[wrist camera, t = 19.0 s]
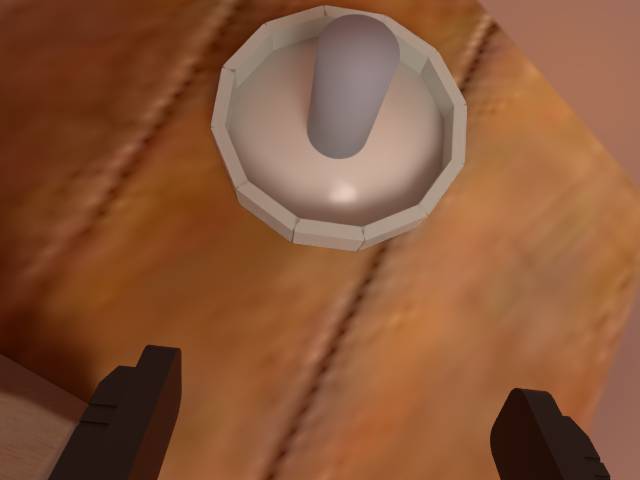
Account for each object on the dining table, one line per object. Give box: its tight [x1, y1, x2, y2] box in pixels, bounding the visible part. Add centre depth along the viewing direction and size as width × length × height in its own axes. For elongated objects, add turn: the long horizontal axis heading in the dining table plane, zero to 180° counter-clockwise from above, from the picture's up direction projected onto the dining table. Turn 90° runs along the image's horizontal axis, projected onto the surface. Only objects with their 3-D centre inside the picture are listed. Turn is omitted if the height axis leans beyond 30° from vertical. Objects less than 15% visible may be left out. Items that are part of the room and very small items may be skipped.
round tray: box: [211, 5, 467, 252], centre depth 33 cm, size 17×17×3 cm
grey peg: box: [307, 14, 400, 159], centre depth 29 cm, size 4×4×9 cm
